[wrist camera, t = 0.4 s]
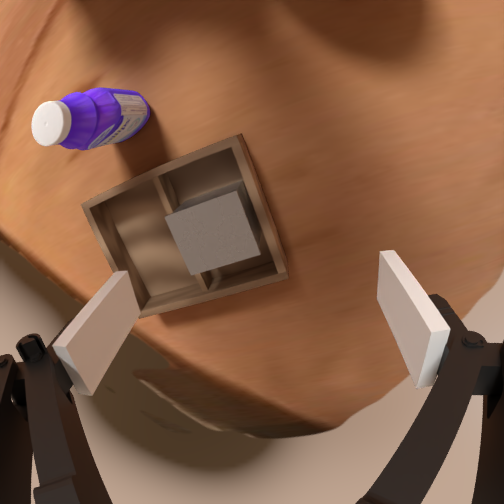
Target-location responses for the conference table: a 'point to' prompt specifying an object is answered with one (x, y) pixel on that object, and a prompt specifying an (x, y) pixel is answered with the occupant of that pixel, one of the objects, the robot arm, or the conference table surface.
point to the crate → (161, 239)
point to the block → (216, 228)
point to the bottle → (90, 118)
